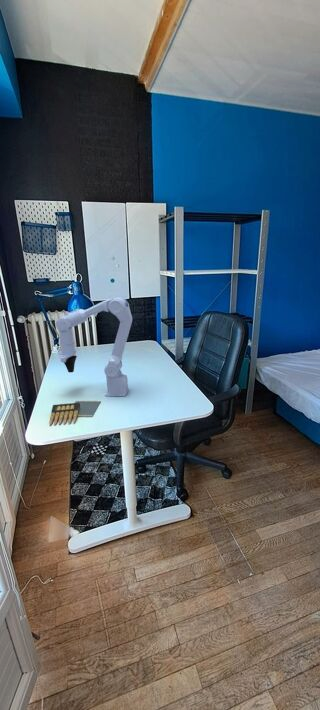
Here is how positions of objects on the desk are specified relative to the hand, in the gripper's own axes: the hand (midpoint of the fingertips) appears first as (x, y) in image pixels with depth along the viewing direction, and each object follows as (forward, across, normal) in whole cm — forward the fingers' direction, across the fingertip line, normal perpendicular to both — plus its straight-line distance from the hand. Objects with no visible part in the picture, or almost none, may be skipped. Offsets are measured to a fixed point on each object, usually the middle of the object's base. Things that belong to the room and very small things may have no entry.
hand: (71, 371), depth 136 cm
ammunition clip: (+8, +17, +3) cm, 19 cm away
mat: (+10, +16, +10) cm, 22 cm away
